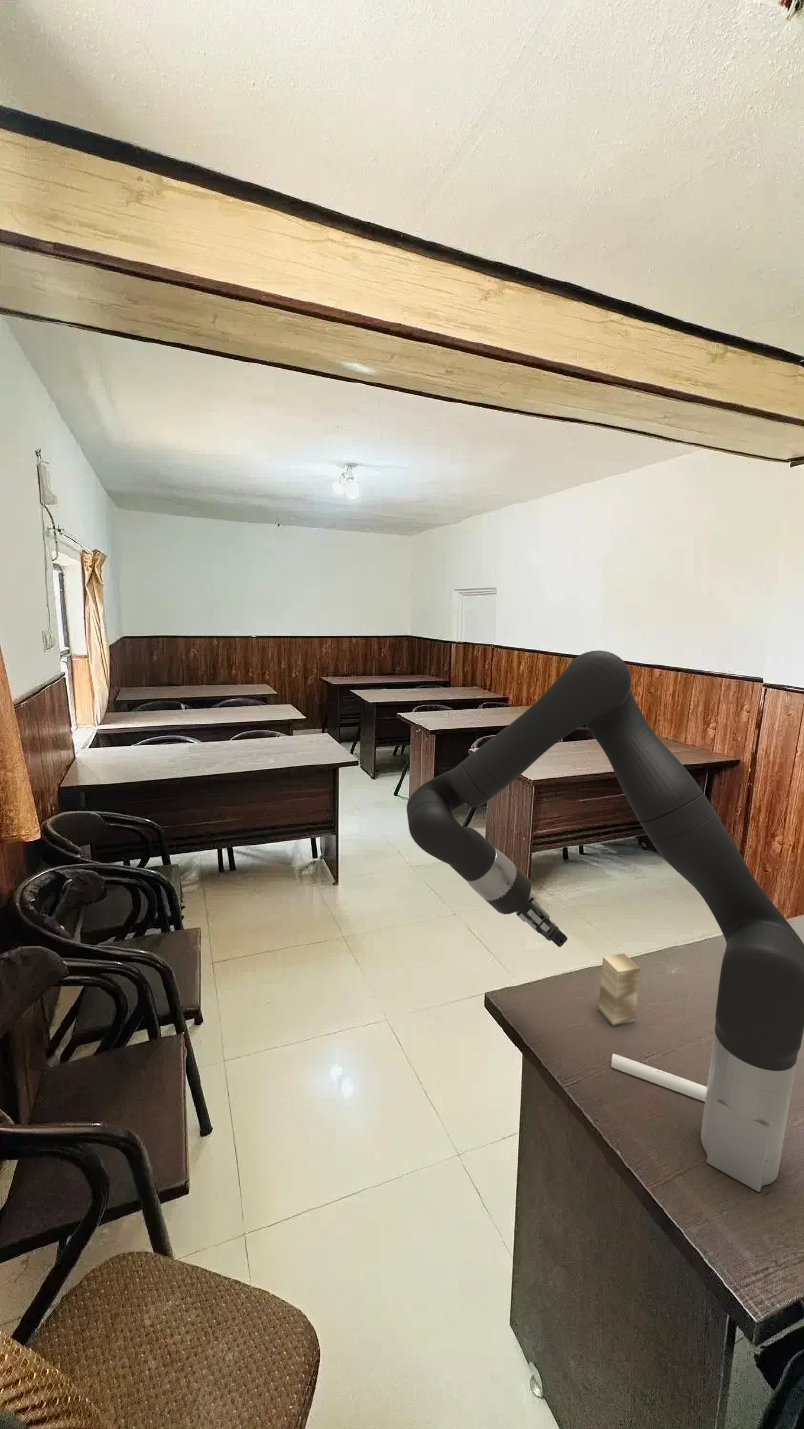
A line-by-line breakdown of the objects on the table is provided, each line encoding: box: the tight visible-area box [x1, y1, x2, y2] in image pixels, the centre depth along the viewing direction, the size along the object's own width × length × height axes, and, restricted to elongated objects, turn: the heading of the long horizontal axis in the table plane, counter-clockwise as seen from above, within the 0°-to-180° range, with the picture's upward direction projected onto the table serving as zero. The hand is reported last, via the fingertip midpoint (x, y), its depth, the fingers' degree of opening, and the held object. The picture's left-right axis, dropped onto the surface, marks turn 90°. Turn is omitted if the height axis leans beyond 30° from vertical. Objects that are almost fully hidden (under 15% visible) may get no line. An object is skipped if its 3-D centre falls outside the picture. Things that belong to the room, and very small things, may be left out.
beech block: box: [598, 953, 641, 1028], centre depth 101 cm, size 4×4×11 cm
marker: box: [610, 1053, 707, 1103], centre depth 87 cm, size 18×2×2 cm, turn 62°
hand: (558, 937), depth 96 cm, fingers open, 2 cm apart
